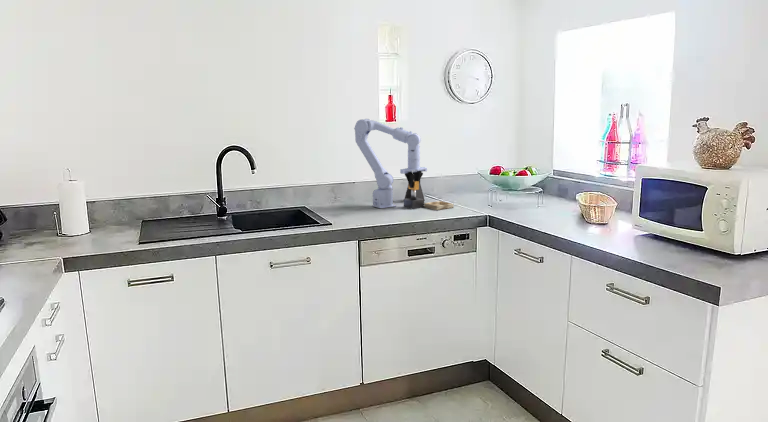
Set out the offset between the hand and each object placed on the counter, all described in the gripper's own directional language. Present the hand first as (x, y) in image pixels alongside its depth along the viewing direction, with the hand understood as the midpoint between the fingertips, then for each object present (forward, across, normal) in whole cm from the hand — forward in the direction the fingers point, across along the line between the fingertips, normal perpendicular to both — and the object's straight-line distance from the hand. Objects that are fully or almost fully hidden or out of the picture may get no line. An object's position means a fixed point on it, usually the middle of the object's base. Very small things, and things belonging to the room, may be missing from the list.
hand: (413, 187), depth 276 cm
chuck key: (+5, 0, 0) cm, 5 cm away
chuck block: (+10, 0, 0) cm, 10 cm away
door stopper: (+10, +10, +14) cm, 20 cm away
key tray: (+10, +9, -8) cm, 15 cm away
